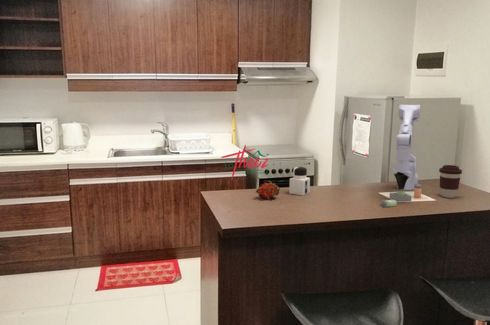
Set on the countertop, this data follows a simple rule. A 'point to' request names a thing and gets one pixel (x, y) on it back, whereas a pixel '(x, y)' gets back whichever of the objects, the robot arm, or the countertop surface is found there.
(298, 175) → the container
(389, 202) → the sage marker lying
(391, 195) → the white sorting board
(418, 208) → the countertop surface
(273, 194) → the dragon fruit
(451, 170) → the coffee cup
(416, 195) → the cylinder
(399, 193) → the button
